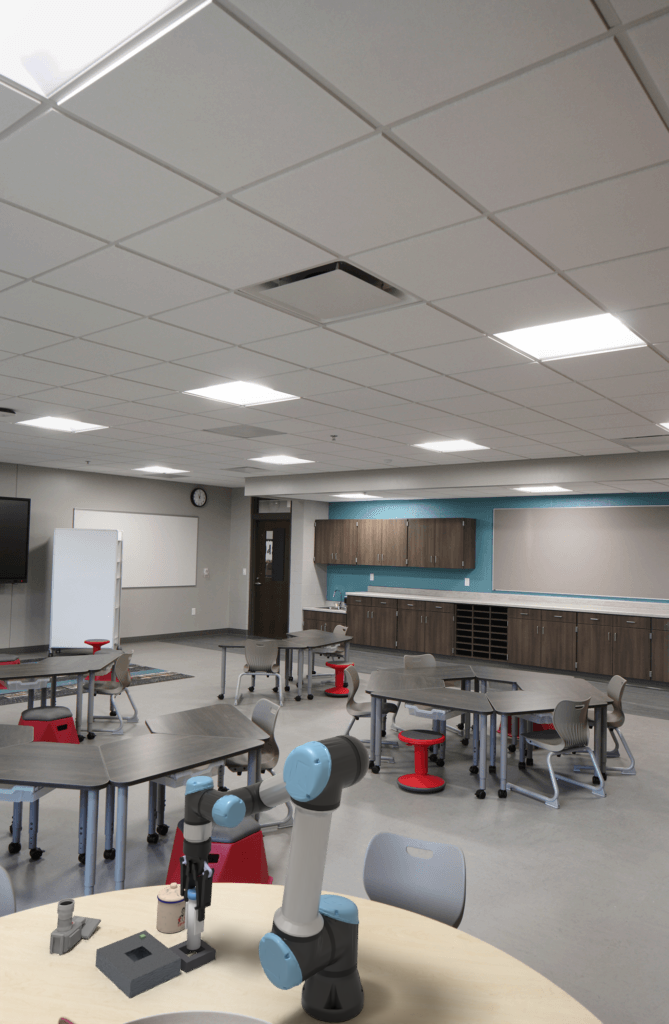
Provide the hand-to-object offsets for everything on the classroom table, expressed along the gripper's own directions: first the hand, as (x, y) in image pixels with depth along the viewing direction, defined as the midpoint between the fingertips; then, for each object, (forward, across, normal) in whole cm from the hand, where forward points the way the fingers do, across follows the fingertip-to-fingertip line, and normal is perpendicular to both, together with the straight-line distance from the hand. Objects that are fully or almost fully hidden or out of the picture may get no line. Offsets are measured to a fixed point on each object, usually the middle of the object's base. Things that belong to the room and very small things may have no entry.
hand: (194, 929), depth 173 cm
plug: (+4, 0, 0) cm, 4 cm away
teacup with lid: (+7, +20, -6) cm, 22 cm away
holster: (+7, +1, 0) cm, 8 cm away
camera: (+7, +31, +19) cm, 37 cm away
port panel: (+7, +6, +13) cm, 16 cm away
